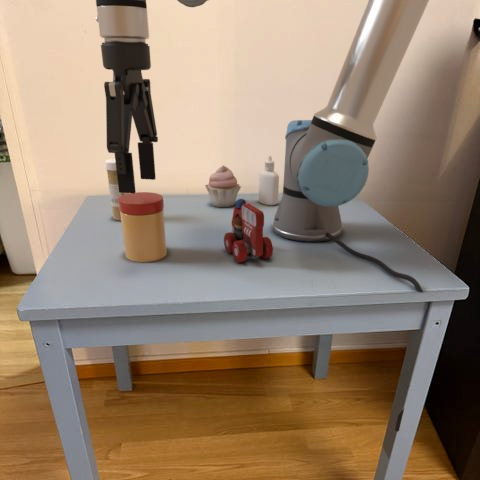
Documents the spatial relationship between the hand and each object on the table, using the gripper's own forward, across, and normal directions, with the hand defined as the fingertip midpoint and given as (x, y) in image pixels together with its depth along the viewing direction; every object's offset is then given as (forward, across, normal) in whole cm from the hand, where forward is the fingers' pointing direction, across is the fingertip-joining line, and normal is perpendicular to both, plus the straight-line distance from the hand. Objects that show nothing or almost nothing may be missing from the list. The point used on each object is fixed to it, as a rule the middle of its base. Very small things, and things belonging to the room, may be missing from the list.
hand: (138, 185), depth 82 cm
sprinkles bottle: (+14, -21, -13) cm, 28 cm away
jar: (+13, 0, 0) cm, 13 cm away
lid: (+3, 0, 0) cm, 3 cm away
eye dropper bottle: (+13, -41, +19) cm, 47 cm away
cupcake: (+13, -37, +8) cm, 40 cm away
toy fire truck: (+13, -4, +20) cm, 24 cm away
